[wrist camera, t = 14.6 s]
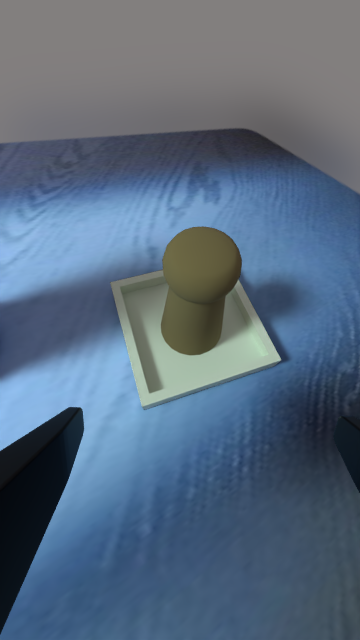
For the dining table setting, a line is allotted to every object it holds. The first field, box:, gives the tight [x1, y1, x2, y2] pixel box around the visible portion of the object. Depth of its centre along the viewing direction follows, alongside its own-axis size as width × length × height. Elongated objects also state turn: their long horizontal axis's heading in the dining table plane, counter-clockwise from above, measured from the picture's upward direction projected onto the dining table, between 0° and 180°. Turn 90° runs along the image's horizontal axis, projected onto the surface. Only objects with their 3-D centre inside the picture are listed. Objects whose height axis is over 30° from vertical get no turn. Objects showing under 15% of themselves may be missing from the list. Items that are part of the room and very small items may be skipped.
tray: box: [110, 270, 281, 410], centre depth 25 cm, size 13×13×2 cm
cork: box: [161, 227, 242, 356], centre depth 20 cm, size 6×6×11 cm
